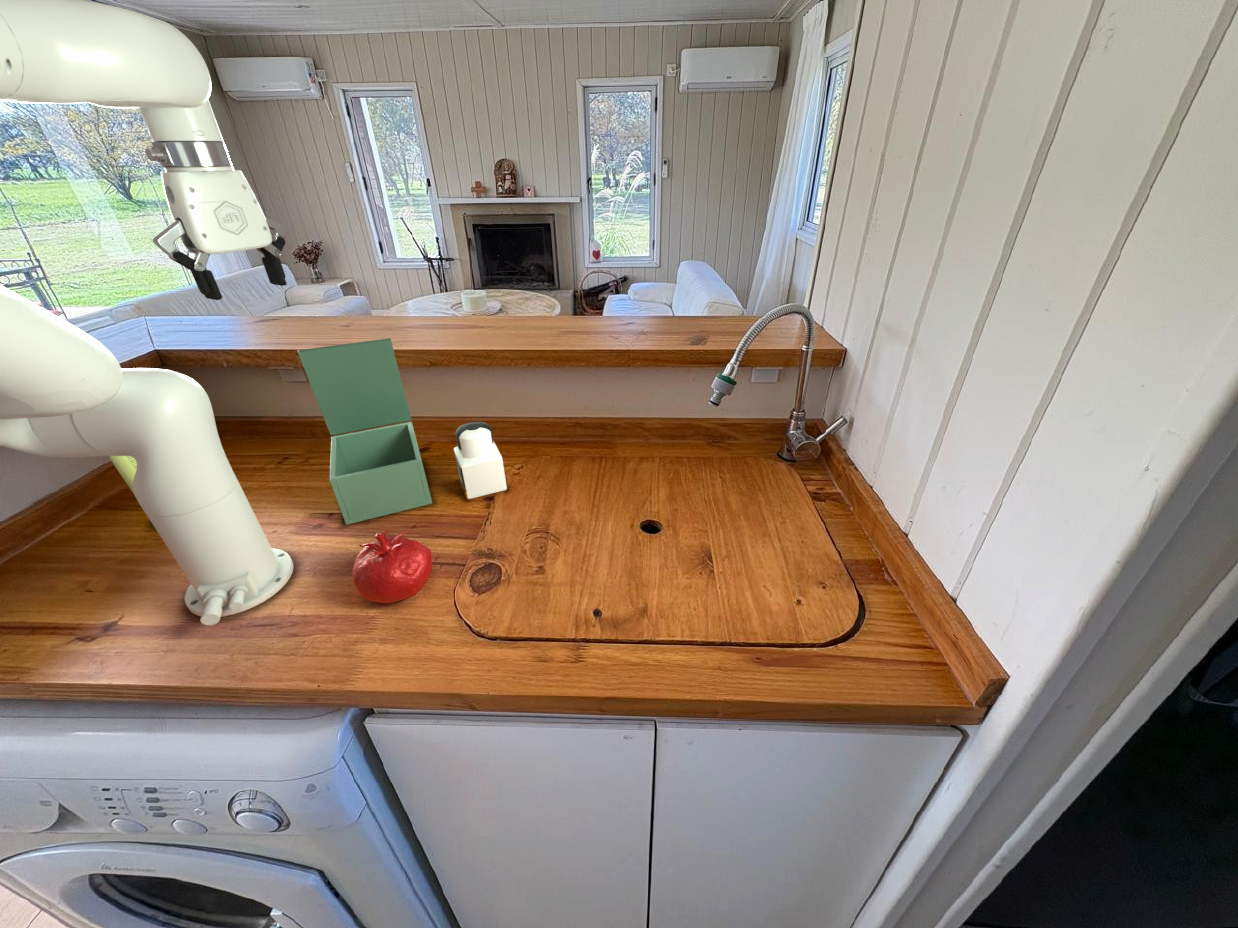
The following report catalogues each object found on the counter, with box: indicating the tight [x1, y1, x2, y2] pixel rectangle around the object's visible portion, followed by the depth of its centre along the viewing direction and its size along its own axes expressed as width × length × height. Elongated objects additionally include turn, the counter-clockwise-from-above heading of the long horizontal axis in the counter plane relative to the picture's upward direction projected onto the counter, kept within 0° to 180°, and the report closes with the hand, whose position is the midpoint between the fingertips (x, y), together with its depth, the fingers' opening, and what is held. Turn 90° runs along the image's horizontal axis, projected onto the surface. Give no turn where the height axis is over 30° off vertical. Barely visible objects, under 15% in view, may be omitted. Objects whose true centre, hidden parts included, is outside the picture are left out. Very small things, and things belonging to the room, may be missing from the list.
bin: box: [329, 421, 433, 526], centre depth 87 cm, size 16×14×9 cm
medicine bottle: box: [453, 421, 508, 500], centre depth 88 cm, size 7×7×12 cm
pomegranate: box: [351, 529, 433, 604], centre depth 67 cm, size 10×10×9 cm
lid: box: [297, 338, 412, 436], centre depth 85 cm, size 16×14×1 cm
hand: (248, 291), depth 75 cm, fingers open, 9 cm apart
